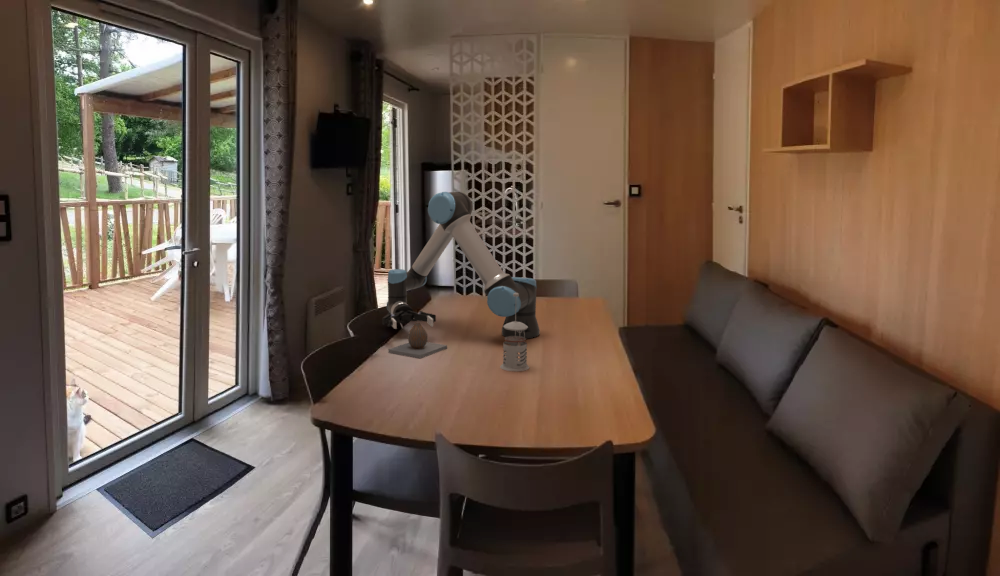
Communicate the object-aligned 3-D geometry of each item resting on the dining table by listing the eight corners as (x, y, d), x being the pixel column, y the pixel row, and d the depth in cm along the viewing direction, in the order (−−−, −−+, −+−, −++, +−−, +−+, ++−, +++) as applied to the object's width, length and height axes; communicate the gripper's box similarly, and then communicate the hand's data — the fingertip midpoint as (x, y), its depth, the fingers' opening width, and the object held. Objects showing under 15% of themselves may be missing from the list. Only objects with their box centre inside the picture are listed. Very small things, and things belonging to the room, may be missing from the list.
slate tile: (446, 348, 235) (446, 345, 235) (420, 358, 221) (420, 355, 221) (416, 343, 242) (416, 340, 242) (388, 352, 228) (388, 349, 228)
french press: (495, 369, 210) (496, 293, 206) (508, 360, 221) (509, 288, 217) (523, 372, 207) (525, 296, 203) (535, 363, 217) (537, 290, 213)
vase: (423, 350, 227) (423, 326, 226) (405, 348, 229) (405, 324, 227) (430, 345, 234) (429, 321, 233) (412, 344, 235) (411, 320, 234)
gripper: (433, 320, 259) (447, 331, 240) (370, 323, 251) (379, 336, 231) (433, 301, 258) (447, 312, 239) (370, 304, 250) (379, 315, 230)
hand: (414, 324), depth 235 cm, fingers open, 13 cm apart
